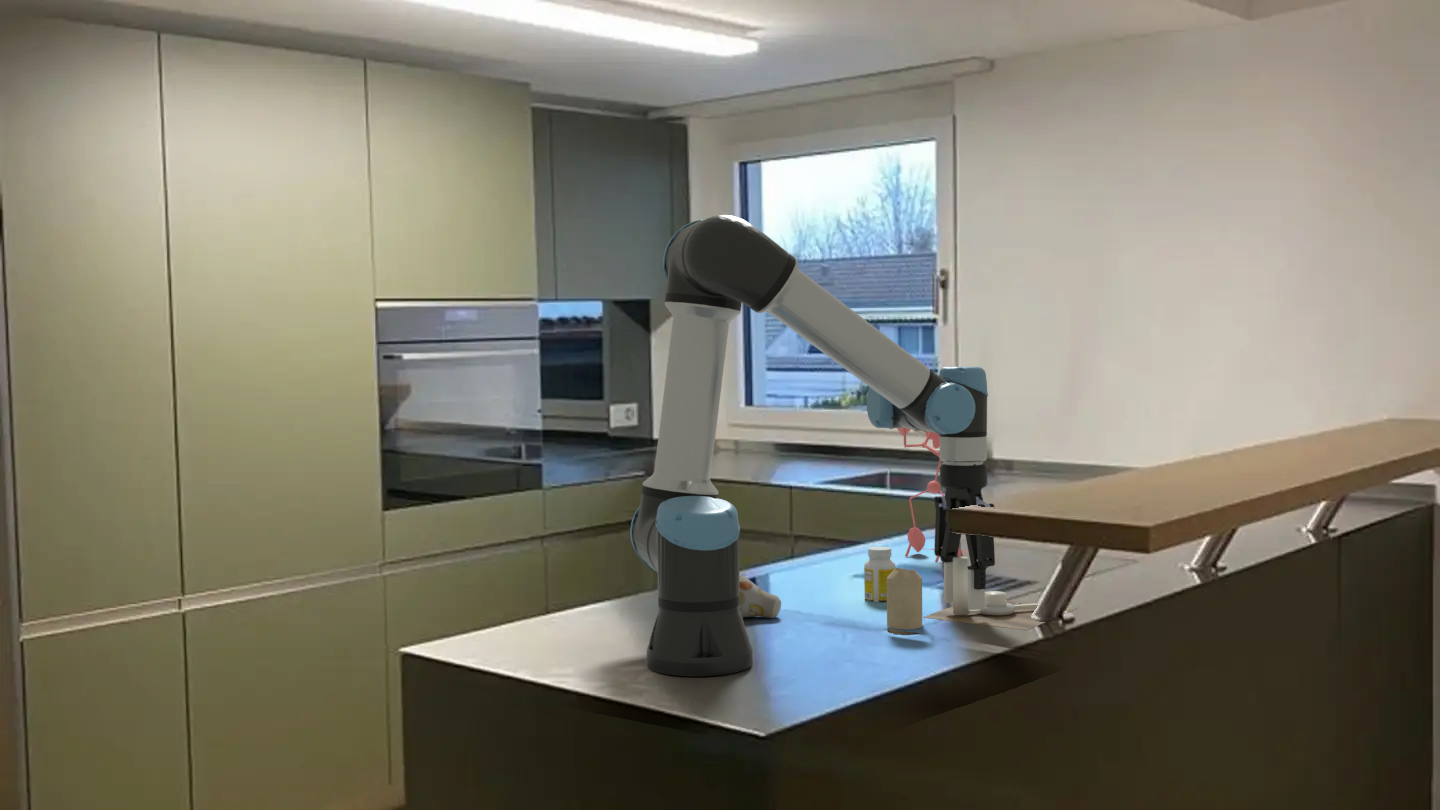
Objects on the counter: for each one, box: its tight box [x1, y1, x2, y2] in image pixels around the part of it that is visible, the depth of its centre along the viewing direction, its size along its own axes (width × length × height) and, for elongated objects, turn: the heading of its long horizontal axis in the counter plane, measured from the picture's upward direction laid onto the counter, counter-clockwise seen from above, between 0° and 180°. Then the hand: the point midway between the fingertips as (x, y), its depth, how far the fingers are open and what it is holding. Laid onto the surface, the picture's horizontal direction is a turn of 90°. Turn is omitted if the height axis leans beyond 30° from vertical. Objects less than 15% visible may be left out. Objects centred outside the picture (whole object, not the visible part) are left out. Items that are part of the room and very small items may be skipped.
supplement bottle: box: [863, 546, 897, 603], centre depth 241 cm, size 5×5×10 cm
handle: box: [952, 556, 1039, 615], centre depth 227 cm, size 15×6×9 cm, turn 104°
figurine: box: [896, 428, 969, 563], centre depth 290 cm, size 15×26×35 cm, turn 35°
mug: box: [739, 575, 782, 619], centre depth 232 cm, size 8×10×10 cm
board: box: [922, 600, 1078, 631], centre depth 228 cm, size 20×18×1 cm
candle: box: [886, 567, 923, 636], centre depth 219 cm, size 6×6×10 cm
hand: (964, 605), depth 225 cm, fingers open, 6 cm apart
